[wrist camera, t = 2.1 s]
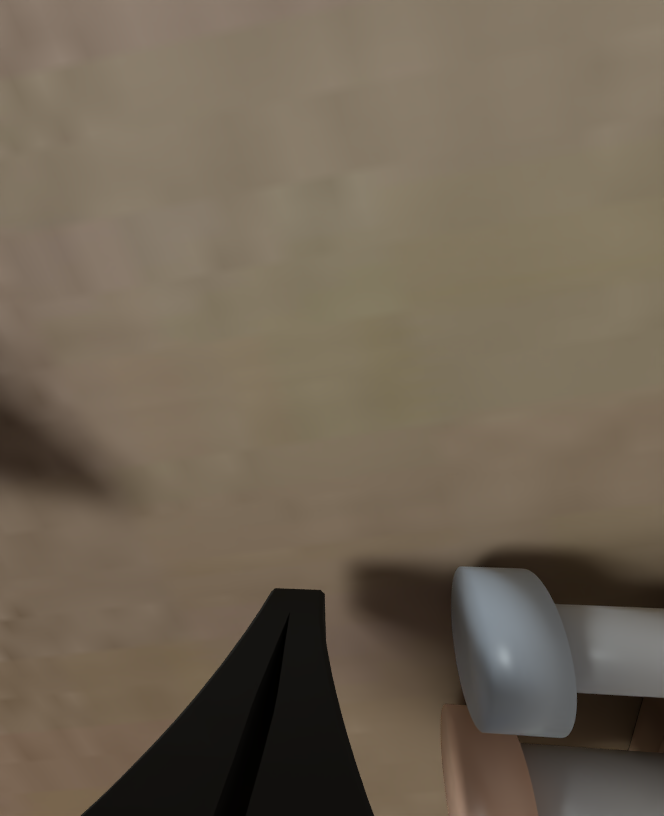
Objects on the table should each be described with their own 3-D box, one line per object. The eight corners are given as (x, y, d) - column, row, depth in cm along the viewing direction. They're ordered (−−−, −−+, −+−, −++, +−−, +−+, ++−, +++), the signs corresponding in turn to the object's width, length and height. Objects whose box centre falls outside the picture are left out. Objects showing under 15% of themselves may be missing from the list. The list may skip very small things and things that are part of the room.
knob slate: (447, 636, 11) (484, 773, 8) (455, 539, 10) (501, 648, 7) (686, 648, 11) (832, 799, 7) (716, 547, 10) (898, 668, 6)
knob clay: (437, 753, 12) (466, 911, 9) (444, 676, 12) (477, 822, 8) (649, 767, 12) (758, 942, 9) (673, 689, 11) (806, 851, 8)
